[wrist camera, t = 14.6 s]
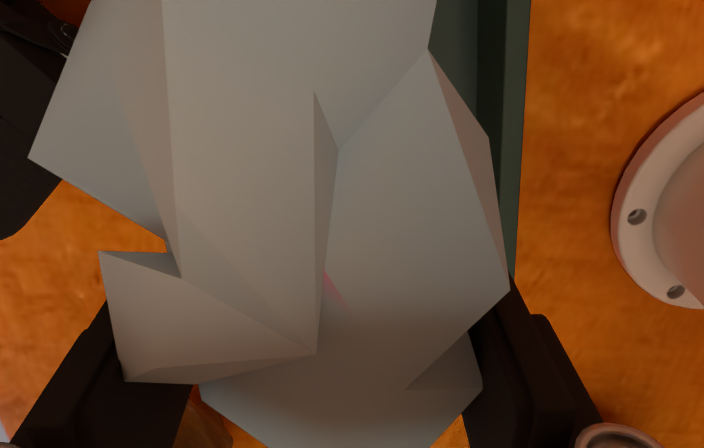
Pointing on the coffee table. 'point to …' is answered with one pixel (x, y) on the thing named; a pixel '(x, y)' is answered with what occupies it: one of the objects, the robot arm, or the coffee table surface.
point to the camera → (27, 103)
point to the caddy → (490, 85)
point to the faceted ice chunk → (287, 210)
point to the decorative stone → (202, 428)
